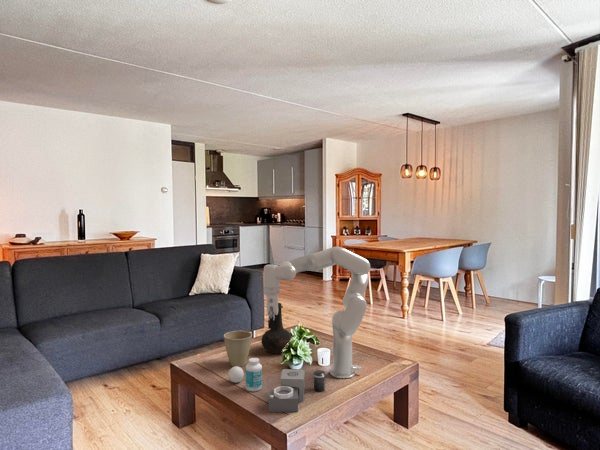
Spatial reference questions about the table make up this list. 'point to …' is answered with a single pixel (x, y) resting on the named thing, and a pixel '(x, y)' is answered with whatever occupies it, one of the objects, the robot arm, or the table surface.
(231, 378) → the white ovoid
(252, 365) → the pill bottle
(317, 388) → the lens
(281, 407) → the grey ring-top block
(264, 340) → the glass bottle
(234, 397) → the table surface
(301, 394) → the icon cube
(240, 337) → the plant pot
